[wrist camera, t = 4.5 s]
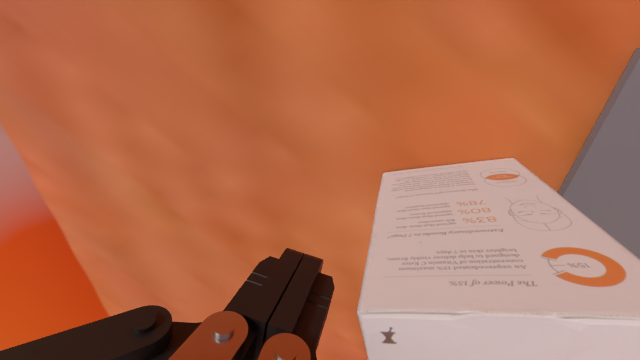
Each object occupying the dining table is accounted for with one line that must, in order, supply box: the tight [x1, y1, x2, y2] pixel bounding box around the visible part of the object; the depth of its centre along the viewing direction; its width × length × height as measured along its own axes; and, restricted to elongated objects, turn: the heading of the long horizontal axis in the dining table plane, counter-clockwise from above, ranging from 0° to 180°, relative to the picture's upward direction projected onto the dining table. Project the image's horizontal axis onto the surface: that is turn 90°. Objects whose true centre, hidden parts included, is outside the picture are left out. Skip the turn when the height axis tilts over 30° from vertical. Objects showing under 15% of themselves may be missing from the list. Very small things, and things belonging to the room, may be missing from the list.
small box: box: [357, 158, 640, 360], centre depth 14 cm, size 8×6×13 cm
